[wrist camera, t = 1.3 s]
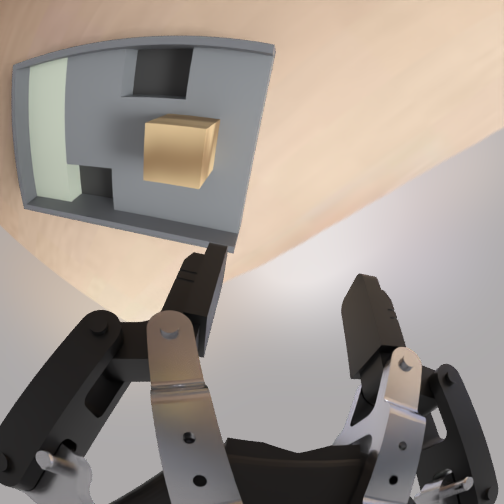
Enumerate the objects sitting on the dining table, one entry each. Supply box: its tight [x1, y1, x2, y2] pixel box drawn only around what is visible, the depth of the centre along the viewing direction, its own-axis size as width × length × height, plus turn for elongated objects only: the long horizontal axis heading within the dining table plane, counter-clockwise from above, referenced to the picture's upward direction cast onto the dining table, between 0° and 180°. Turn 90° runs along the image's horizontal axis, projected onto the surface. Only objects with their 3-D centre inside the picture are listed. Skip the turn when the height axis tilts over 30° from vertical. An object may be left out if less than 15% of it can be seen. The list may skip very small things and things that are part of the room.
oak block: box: [143, 114, 220, 189], centre depth 22 cm, size 5×5×5 cm
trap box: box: [12, 36, 276, 253], centre depth 24 cm, size 20×30×6 cm, turn 80°
